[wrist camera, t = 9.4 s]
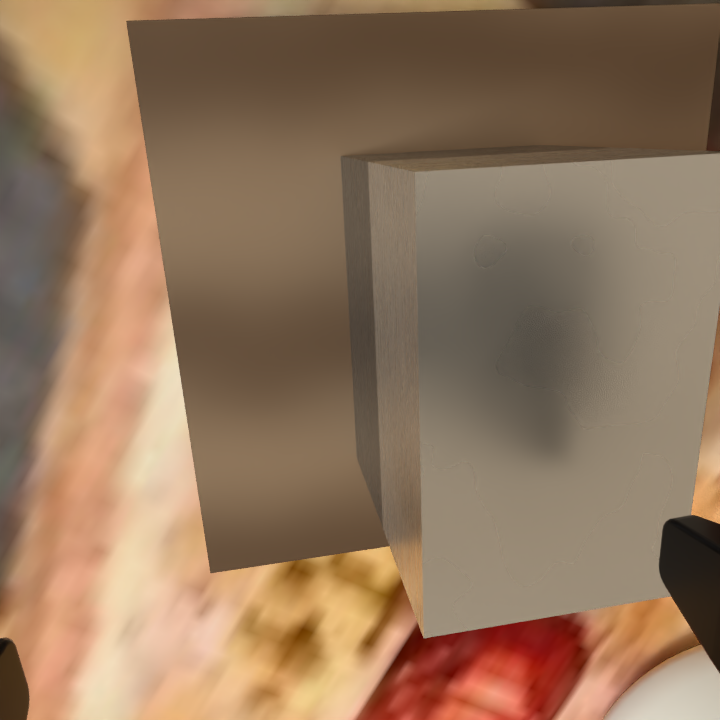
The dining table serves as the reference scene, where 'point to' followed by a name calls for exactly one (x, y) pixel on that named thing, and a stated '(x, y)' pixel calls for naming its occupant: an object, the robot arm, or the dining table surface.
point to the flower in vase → (673, 691)
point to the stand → (326, 218)
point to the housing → (530, 368)
